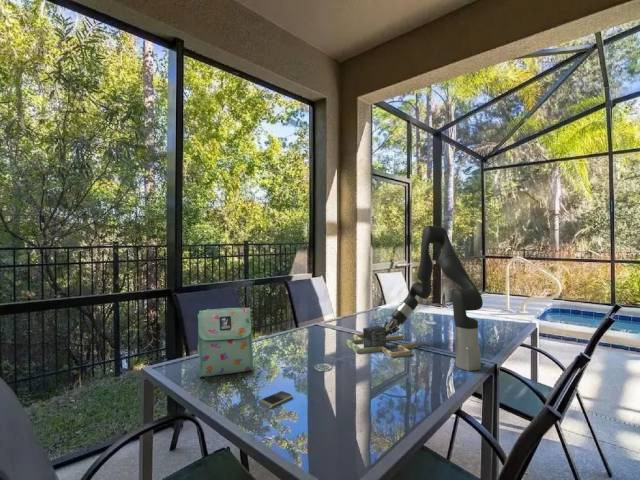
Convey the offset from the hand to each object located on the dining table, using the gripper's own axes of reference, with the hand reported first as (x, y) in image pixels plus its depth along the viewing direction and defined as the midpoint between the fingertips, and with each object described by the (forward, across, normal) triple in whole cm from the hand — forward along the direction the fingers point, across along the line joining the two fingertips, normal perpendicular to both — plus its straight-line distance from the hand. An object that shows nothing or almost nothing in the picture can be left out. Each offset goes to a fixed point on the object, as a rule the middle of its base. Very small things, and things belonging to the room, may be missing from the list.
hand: (381, 338), depth 181 cm
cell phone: (+46, +49, -41) cm, 79 cm away
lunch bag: (+58, +14, -53) cm, 80 cm away
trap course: (+3, 0, +2) cm, 4 cm away
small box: (+6, +3, -1) cm, 7 cm away
